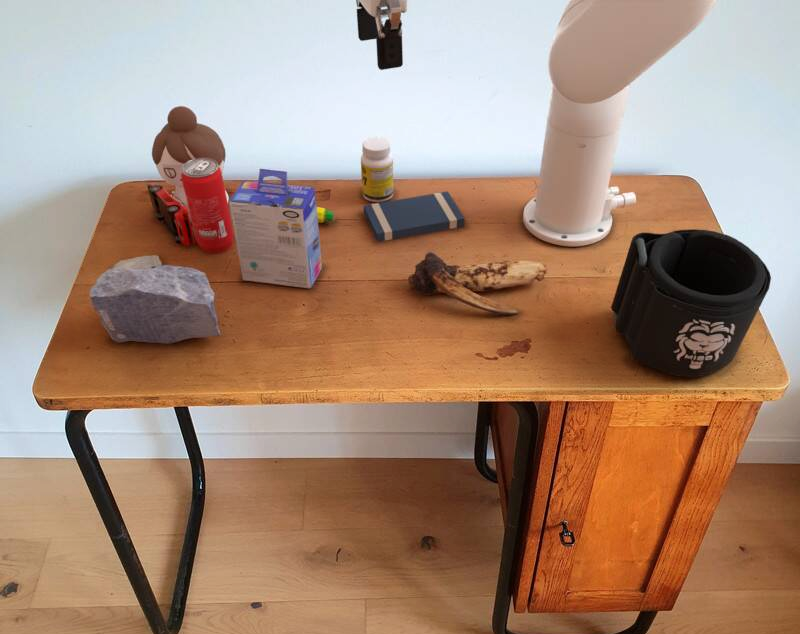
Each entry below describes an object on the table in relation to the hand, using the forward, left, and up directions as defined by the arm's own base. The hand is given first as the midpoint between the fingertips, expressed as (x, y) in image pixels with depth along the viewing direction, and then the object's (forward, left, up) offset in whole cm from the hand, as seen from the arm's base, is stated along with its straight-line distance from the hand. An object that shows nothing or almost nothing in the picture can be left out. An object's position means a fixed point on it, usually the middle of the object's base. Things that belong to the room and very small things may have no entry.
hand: (380, 52), depth 102 cm
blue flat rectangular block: (-2, +8, -21) cm, 23 cm away
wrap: (-25, +42, -21) cm, 53 cm away
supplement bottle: (+1, 0, -21) cm, 21 cm away
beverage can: (+26, +6, -21) cm, 34 cm away
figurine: (+27, -5, -21) cm, 35 cm away
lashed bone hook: (-5, +27, -21) cm, 35 cm away
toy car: (+33, 0, -19) cm, 38 cm away
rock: (+34, +23, -21) cm, 46 cm away
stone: (+36, +11, -21) cm, 43 cm away
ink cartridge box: (+18, +15, -21) cm, 32 cm away
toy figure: (+21, +1, -19) cm, 28 cm away
